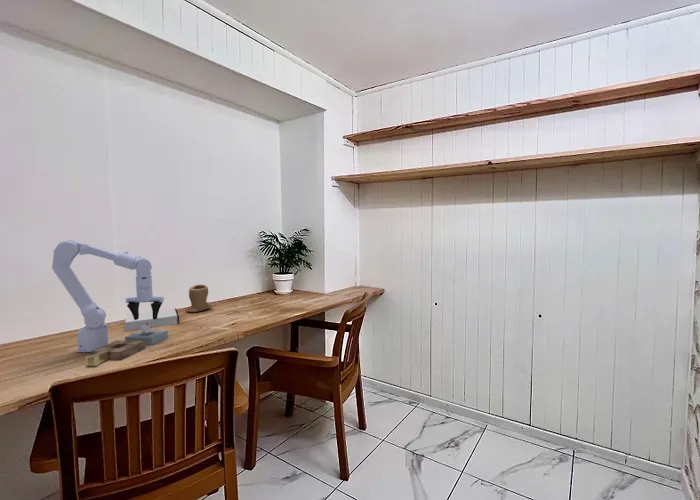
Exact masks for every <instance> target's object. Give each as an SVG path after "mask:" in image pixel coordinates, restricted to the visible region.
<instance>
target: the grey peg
mask: <svg viewBox="0 0 700 500" xmlns="http://www.w3.org/2000/svg"><path fill="white" fill-rule="evenodd" d="M140 330H142V335H150V330H151V328H150V324H149V322H142V323H141V329H140Z"/></svg>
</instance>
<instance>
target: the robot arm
mask: <svg viewBox="0 0 700 500" xmlns="http://www.w3.org/2000/svg"><path fill="white" fill-rule="evenodd" d="M78 255H79V256H81V255H82V256H83V255H93V256H96V257H99V258H102V259H107V260H110V261H113V264H114V265H116V266H118V267H122V268H125V269H129V270H131V271H133V270H136V271H135V272H136V276H135V286H136V287H135V290H136V297H126V298H125V303H126V304H127V305H126V307H127V308H128V309H129V311H130V313H131V314H132V315H133V317H134V320H137V319H139V313H140V312H139V311H140V310H139V309H140V303H150V307H151V310H152V311H151V312H153V320H155V319H157V316H158V312H159V311H160V309H161V307H162V305H163V302H165V300H164V299H165V298H164V296H153V279H152V278H153V277H152V271H151V270H152V269H153V265H152V263H151V262H150V260H149V259H147V258H144V257H142V256H141V255H138V256H136V255H133V254H130V253H129V252H128V251H124V252H123V251H119V252H114V251H110V250H107V249H105V248H102V247H99V246H96V245H93V244H90V243H85V242H80V241H75V240H71V239H70V240H69V239H68V240H63V241H61V242H59V243H58V244H57V245H56V246H55V248H54V249H53V258H52V266H51V268H52V271H53V272H54V273H55V274H56V277H57V278H58V280H59V281H60V282H61V283H62V285H63V286H64V288H65V289H66V290H67V292H68V293H69V295H70V297H71V298H72V300H74V302H75V304H76V305H77V306H78V308H79V310H80V312H81V315H82V316H83V319H84V322H83V323H84V324H85V326H84V327H81V328H80V329H79V330H78V332H77V335H76V336H77V349H76V352H78V353H79V352H80V353H91V351H92V350H95V349H97V348H100V347H102V346H104V345H107V344H109V334H108V333H109V332H108V324H107V322H105V320H106V316H107V314H106V311H105V310H104V309H103V308H100V307H99V306H98V305H97V303H96V302H95V301H94V300H93V299H92V297H91V296H90V294H89V292H88V291H87V290H86V289H85V287H84V286H83V284H82V282H81V281H80V280H79V278H78V277H77V275H76V274H75V272H74V270H73V269H72V268H71V265H72V263H73V261H74V259H75V258H76V257H77V256H78Z"/></svg>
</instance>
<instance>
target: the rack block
mask: <svg viewBox="0 0 700 500" xmlns="http://www.w3.org/2000/svg"><path fill="white" fill-rule="evenodd" d="M168 333H169V331H168V330H164V329H163V330H161V329H160V330H159V329H158V330H157V329H150V335H142V329H140V330H139V331H136V332H134V333H131V334H129V335H127V336H125V337H124V340H125V341H145V346H153V345H154V344H157V343H159V342H161V341H163V340H165V339H167V338H169V334H168Z"/></svg>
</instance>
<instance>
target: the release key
mask: <svg viewBox="0 0 700 500" xmlns="http://www.w3.org/2000/svg"><path fill="white" fill-rule="evenodd" d="M108 359H109V356H108V351H101V352H98V353H96V354H94V355H87V356H85V366H86V367H97V366H99V365H100V364H102V363H103V362H105V361H109V360H108Z"/></svg>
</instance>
